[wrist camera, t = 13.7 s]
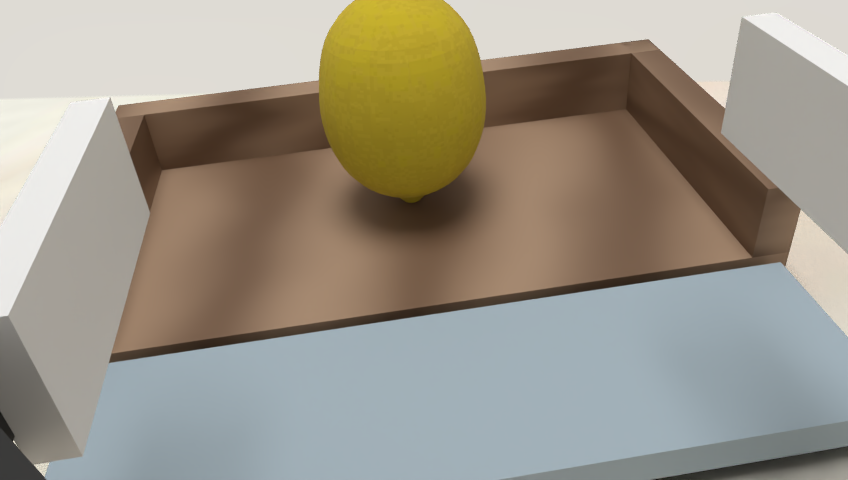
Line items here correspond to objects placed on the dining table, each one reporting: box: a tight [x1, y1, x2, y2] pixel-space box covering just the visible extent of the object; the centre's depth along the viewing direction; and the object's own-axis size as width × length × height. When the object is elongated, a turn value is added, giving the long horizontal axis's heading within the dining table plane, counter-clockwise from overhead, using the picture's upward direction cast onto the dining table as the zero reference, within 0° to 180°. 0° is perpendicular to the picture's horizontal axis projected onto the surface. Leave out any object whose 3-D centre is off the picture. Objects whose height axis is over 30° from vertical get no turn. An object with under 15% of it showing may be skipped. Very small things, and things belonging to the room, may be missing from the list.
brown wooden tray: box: [109, 40, 801, 363], centre depth 27 cm, size 22×12×4 cm, turn 98°
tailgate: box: [45, 262, 848, 480], centre depth 20 cm, size 21×1×6 cm
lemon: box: [319, 0, 486, 203], centre depth 25 cm, size 6×6×8 cm
